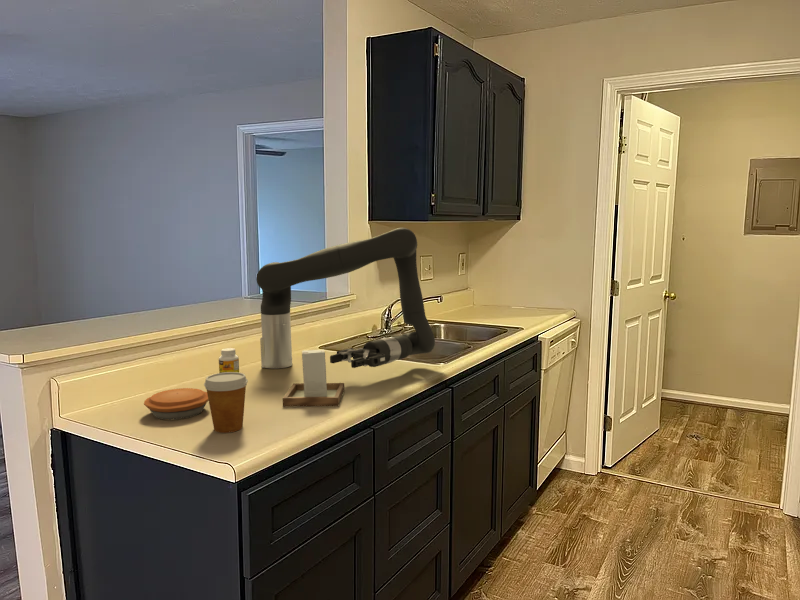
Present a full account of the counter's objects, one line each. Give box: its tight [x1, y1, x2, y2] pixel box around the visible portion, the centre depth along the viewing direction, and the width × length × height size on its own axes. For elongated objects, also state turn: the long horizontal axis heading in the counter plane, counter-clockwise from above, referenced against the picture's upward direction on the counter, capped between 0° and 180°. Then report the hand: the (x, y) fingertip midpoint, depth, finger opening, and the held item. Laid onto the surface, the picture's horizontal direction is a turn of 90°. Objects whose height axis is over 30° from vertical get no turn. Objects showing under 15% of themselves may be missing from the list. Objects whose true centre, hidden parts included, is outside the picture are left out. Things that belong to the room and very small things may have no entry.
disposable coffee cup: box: [203, 371, 249, 434], centre depth 140 cm, size 10×10×12 cm
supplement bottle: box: [218, 347, 240, 373], centre depth 178 cm, size 6×6×10 cm
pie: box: [143, 387, 209, 421], centre depth 153 cm, size 15×16×5 cm
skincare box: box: [301, 348, 328, 397], centre depth 162 cm, size 6×4×12 cm
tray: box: [282, 382, 345, 408], centre depth 163 cm, size 14×14×2 cm
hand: (341, 361), depth 169 cm, fingers open, 8 cm apart
